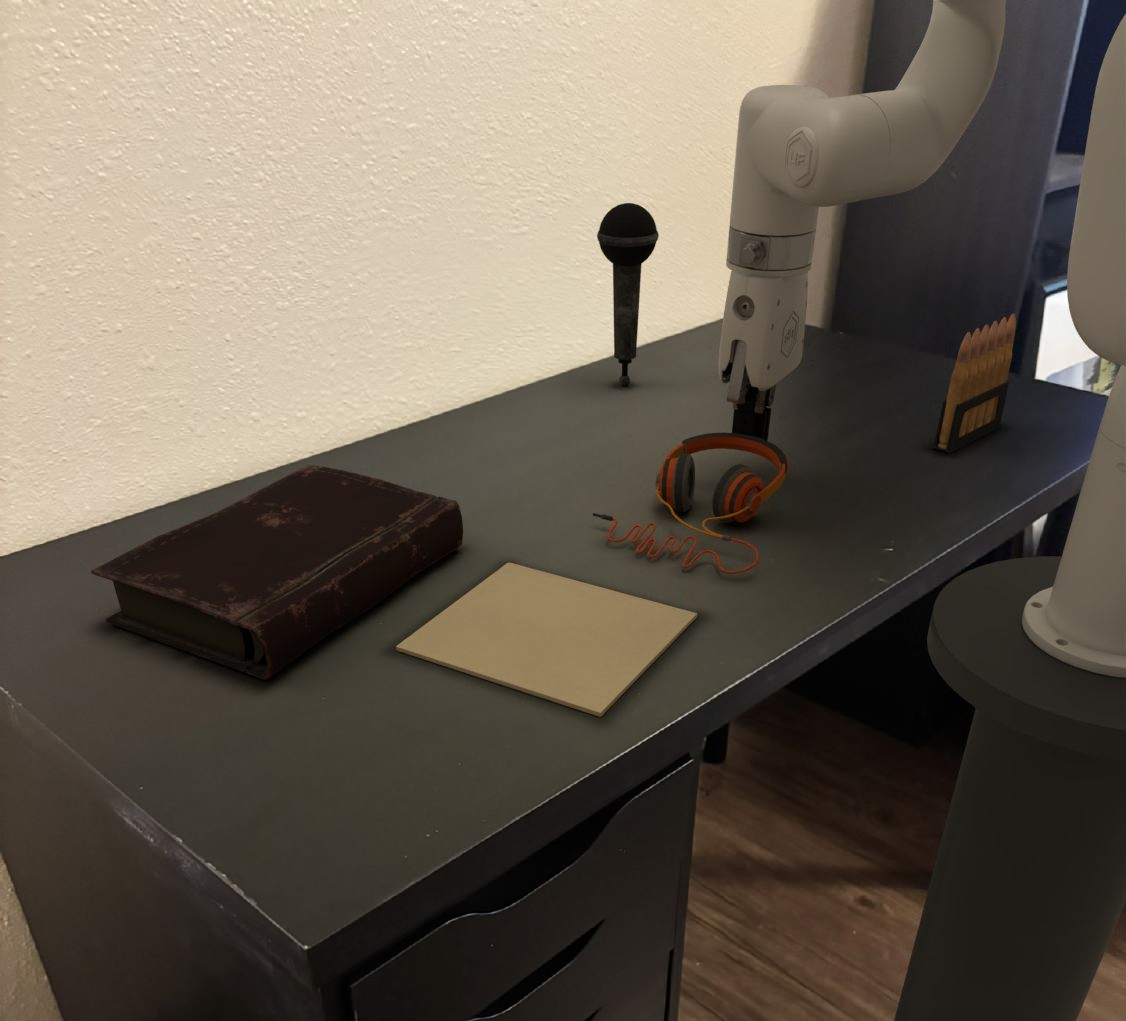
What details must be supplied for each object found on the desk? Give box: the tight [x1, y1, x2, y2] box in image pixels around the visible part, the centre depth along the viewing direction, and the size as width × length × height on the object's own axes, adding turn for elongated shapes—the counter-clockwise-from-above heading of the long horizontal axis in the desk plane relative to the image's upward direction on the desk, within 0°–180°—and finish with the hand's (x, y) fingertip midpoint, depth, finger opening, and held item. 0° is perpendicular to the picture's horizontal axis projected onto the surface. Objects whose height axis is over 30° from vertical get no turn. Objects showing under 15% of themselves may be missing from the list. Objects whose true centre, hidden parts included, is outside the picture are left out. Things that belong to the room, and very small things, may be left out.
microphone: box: [596, 202, 659, 387], centre depth 127 cm, size 7×7×20 cm
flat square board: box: [395, 562, 698, 718], centre depth 87 cm, size 18×16×1 cm
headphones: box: [592, 432, 789, 575], centre depth 101 cm, size 17×5×20 cm
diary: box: [90, 464, 464, 681], centre depth 92 cm, size 19×25×5 cm
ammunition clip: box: [932, 313, 1017, 454], centre depth 115 cm, size 11×2×12 cm, turn 134°
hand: (748, 447), depth 109 cm, fingers closed
